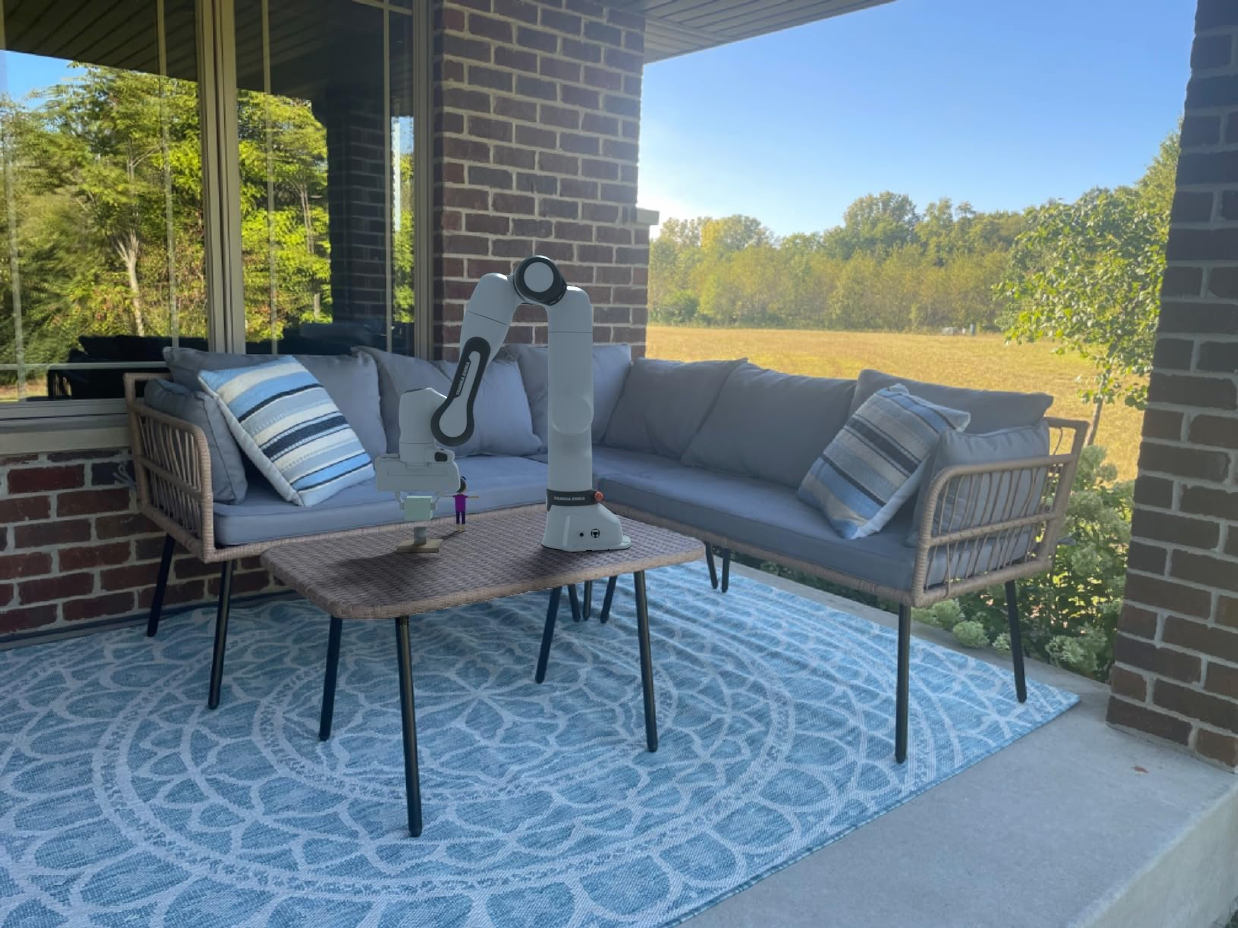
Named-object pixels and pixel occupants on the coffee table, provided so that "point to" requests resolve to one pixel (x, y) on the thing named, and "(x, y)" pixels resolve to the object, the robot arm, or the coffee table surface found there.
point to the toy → (460, 503)
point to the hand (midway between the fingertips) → (418, 509)
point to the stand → (420, 543)
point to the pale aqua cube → (418, 508)
